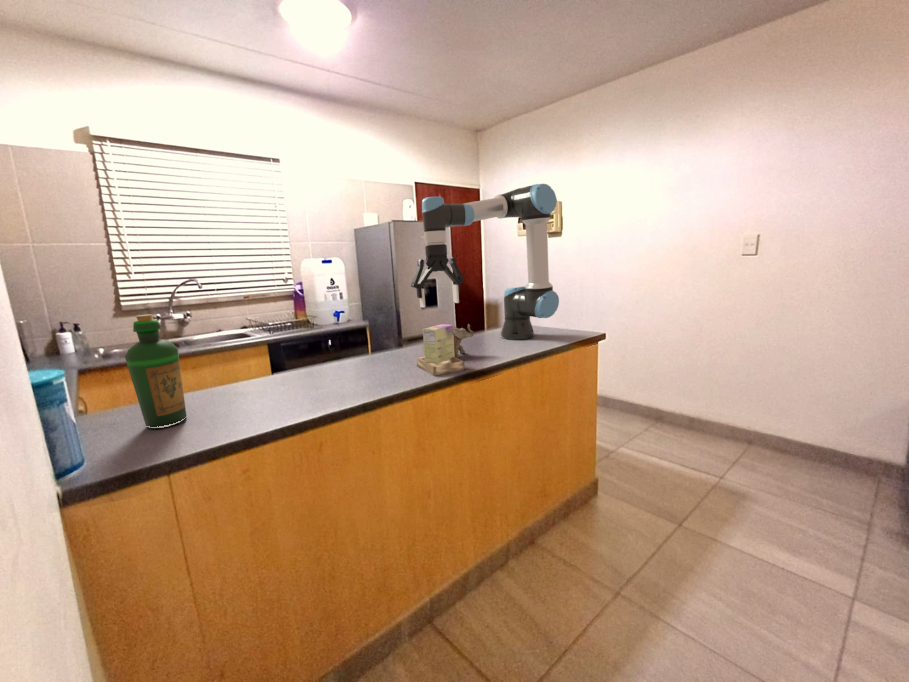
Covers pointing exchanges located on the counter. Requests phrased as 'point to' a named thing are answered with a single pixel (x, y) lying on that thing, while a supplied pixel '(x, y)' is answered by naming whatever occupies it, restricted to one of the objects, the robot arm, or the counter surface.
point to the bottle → (156, 374)
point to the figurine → (458, 336)
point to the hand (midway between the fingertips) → (439, 305)
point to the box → (438, 343)
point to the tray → (441, 366)
